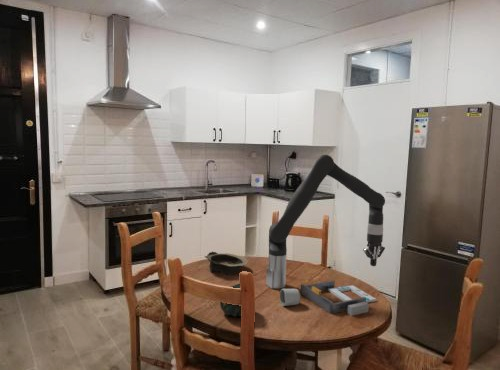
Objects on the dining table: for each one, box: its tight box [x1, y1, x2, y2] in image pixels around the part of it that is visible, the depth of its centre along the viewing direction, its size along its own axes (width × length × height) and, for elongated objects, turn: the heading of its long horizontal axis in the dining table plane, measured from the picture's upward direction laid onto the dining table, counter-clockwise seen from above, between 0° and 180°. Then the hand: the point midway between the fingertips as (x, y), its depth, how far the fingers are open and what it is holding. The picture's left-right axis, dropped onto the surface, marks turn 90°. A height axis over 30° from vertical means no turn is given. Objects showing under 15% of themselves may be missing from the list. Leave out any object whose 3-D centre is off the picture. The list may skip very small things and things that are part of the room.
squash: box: [219, 283, 241, 317], centre depth 167 cm, size 14×15×15 cm
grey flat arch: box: [327, 285, 377, 304], centre depth 191 cm, size 18×2×15 cm
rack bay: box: [300, 279, 366, 314], centre depth 185 cm, size 20×24×7 cm
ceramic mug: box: [279, 288, 302, 307], centre depth 180 cm, size 11×8×8 cm
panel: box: [346, 302, 370, 317], centre depth 172 cm, size 10×2×4 cm, turn 116°
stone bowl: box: [204, 251, 248, 276], centre depth 223 cm, size 25×25×9 cm
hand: (373, 265), depth 195 cm, fingers closed
